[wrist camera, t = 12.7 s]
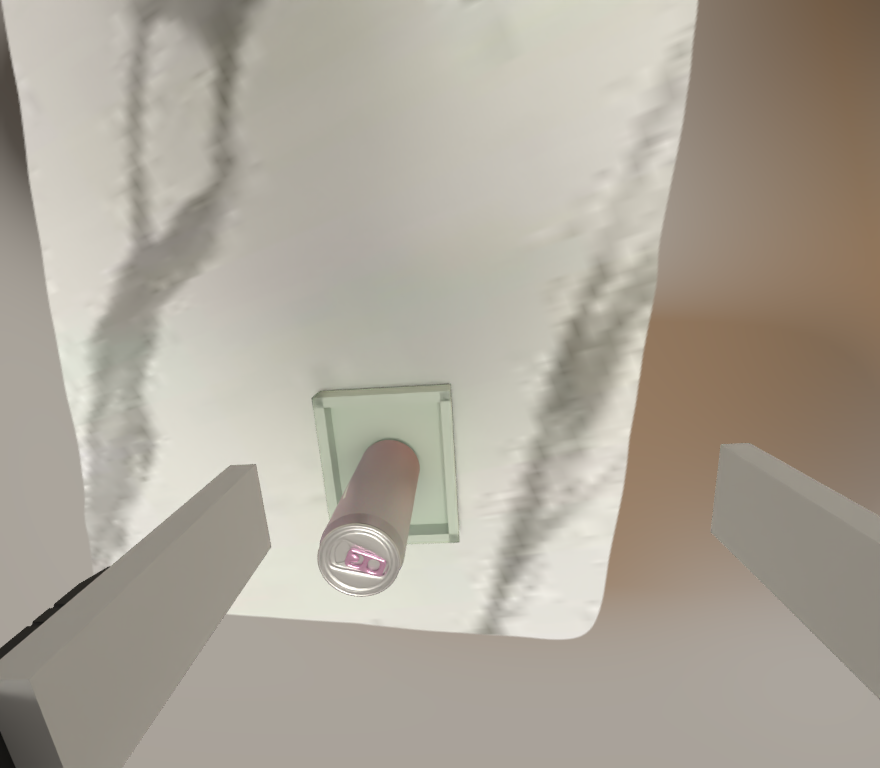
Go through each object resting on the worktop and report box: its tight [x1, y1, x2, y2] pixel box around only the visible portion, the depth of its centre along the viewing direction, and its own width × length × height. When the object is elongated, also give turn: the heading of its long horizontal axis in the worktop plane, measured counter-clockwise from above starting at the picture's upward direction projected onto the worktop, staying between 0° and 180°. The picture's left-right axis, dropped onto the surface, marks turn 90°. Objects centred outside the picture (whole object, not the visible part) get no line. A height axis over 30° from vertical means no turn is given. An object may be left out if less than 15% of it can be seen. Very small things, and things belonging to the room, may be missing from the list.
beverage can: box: [318, 440, 420, 597], centre depth 35 cm, size 6×6×15 cm
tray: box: [312, 384, 459, 544], centre depth 42 cm, size 16×13×2 cm
